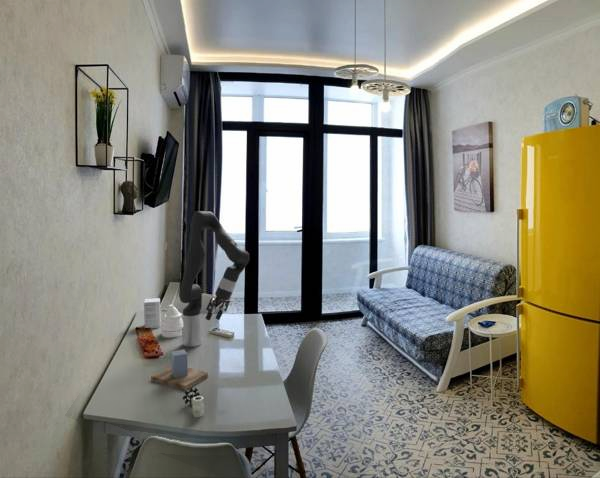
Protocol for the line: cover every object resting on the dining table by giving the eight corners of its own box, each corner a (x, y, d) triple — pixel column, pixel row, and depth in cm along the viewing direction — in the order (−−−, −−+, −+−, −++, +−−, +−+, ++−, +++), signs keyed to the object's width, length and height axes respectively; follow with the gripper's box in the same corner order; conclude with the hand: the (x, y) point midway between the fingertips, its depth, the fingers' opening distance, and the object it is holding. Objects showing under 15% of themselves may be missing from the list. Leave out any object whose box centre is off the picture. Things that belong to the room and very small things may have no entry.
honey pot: (180, 337, 226) (179, 307, 225) (158, 337, 227) (157, 307, 225) (187, 330, 239) (186, 301, 237) (166, 330, 239) (165, 301, 238)
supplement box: (145, 324, 250) (144, 298, 249) (160, 323, 253) (160, 297, 251) (144, 329, 241) (143, 302, 240) (160, 327, 244) (159, 301, 242)
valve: (209, 415, 145) (199, 401, 155) (208, 398, 144) (199, 385, 154) (191, 420, 141) (182, 405, 151) (190, 403, 141) (182, 389, 151)
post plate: (151, 380, 172) (150, 367, 172) (174, 368, 185) (174, 356, 184) (185, 390, 163) (185, 376, 163) (207, 376, 176) (207, 364, 175)
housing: (174, 378, 170) (174, 356, 169) (171, 373, 175) (171, 351, 174) (187, 375, 173) (187, 353, 172) (184, 370, 178) (184, 349, 177)
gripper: (227, 285, 195) (214, 315, 195) (211, 284, 182) (197, 316, 182) (239, 292, 192) (226, 322, 192) (224, 290, 179) (210, 323, 179)
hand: (212, 319), depth 187 cm, fingers open, 8 cm apart
